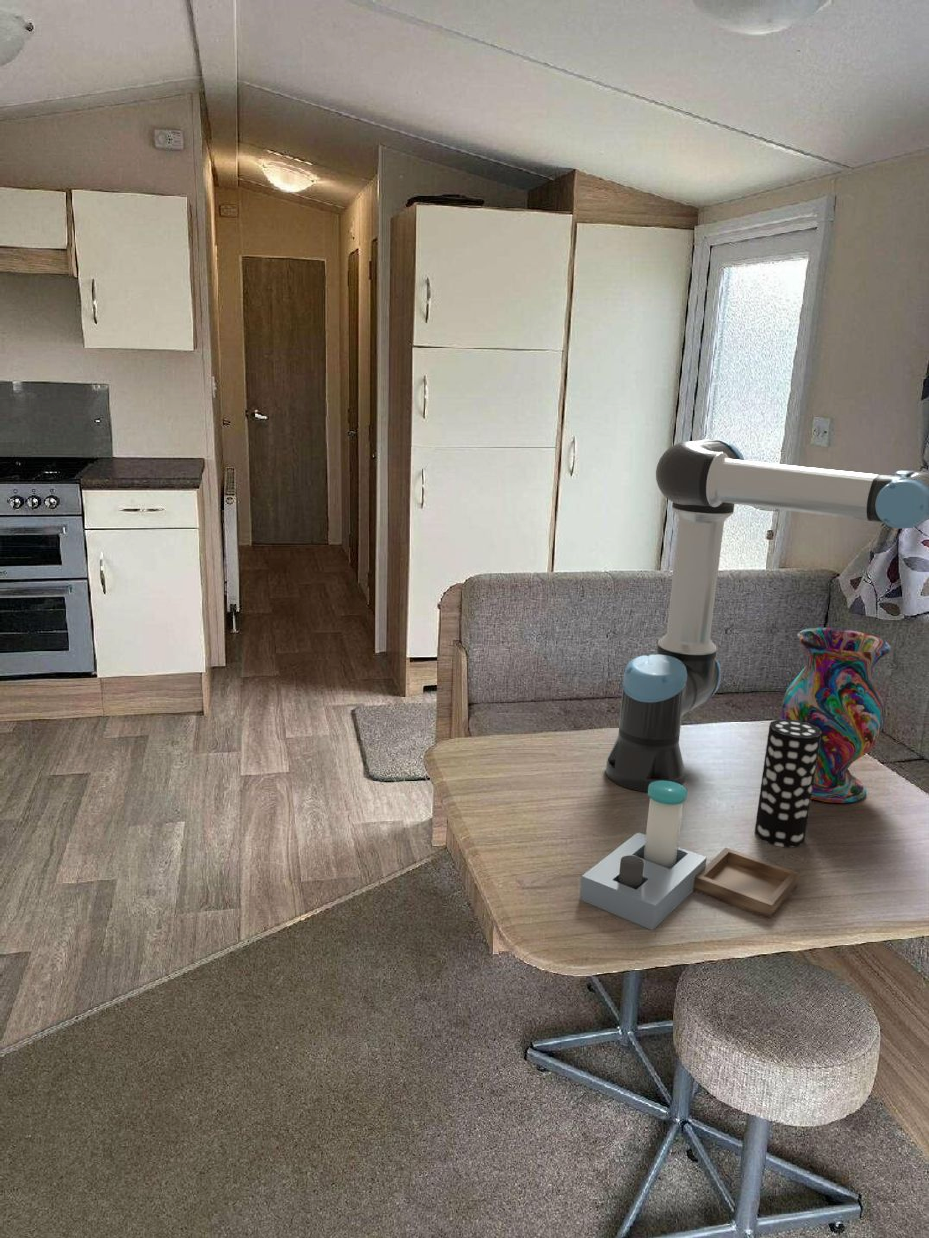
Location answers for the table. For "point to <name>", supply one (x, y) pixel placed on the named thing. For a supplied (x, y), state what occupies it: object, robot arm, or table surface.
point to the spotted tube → (787, 782)
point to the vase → (838, 705)
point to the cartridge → (664, 822)
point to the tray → (746, 882)
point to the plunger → (631, 871)
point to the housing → (654, 894)
